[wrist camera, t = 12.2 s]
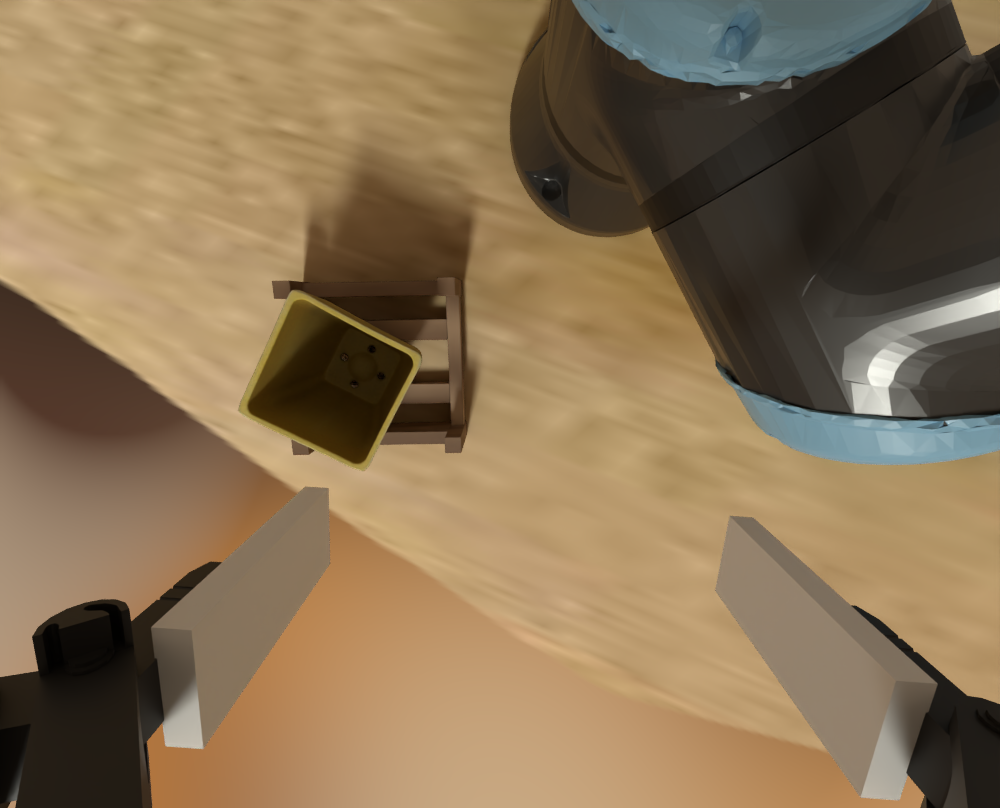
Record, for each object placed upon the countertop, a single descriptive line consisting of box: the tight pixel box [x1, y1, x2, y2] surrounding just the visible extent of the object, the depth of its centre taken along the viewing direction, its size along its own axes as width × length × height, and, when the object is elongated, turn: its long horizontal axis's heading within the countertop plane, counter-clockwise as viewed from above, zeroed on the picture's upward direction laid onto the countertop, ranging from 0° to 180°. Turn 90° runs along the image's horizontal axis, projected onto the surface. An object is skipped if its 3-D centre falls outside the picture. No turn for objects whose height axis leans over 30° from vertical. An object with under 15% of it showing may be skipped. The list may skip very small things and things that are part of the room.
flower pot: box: [238, 290, 422, 471], centre depth 33 cm, size 9×9×9 cm
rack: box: [272, 277, 467, 455], centre depth 36 cm, size 13×13×5 cm
